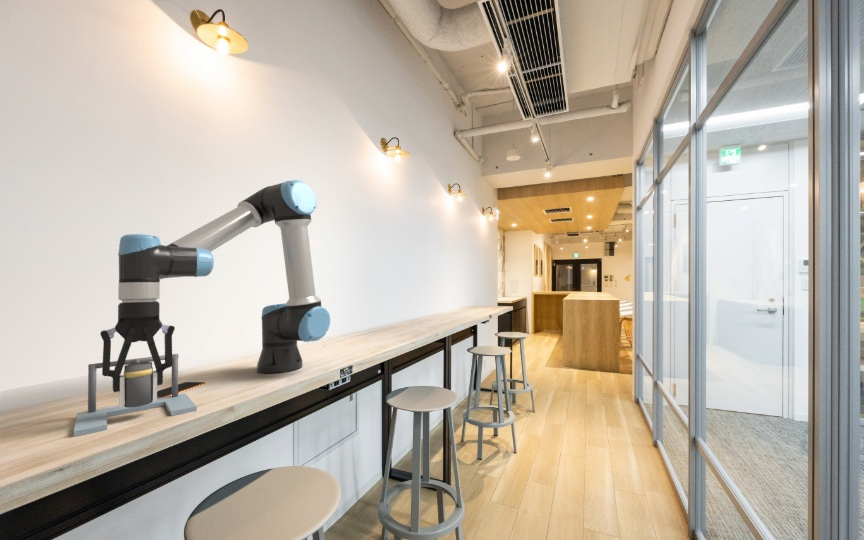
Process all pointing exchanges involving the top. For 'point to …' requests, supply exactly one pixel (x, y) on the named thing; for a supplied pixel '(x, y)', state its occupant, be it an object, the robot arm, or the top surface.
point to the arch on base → (98, 418)
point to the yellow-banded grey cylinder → (138, 384)
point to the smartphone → (181, 387)
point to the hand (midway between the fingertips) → (138, 402)
